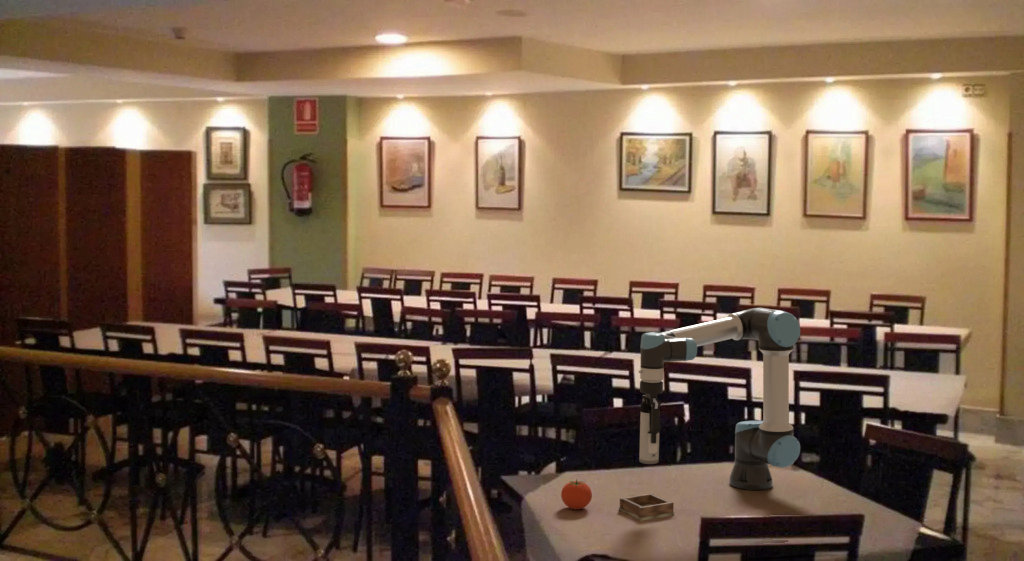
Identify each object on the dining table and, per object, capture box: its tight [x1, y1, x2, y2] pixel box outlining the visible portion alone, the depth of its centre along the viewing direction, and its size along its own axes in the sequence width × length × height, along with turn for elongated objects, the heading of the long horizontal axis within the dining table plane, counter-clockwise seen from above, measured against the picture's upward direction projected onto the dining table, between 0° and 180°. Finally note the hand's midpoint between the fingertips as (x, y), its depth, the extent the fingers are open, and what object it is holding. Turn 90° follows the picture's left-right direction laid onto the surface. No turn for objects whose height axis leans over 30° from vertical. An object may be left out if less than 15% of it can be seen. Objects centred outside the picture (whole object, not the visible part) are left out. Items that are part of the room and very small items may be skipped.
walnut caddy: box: [618, 493, 675, 522], centre depth 343 cm, size 13×13×4 cm
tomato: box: [560, 478, 593, 510], centre depth 347 cm, size 10×10×10 cm
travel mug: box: [638, 401, 662, 465], centre depth 341 cm, size 6×7×20 cm
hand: (649, 450), depth 342 cm, fingers closed on travel mug, 6 cm apart
